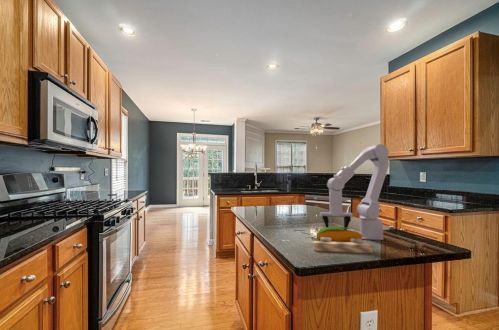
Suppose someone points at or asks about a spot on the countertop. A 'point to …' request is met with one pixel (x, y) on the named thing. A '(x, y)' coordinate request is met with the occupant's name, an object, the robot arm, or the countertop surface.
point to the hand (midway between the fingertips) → (336, 232)
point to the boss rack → (343, 246)
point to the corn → (338, 234)
